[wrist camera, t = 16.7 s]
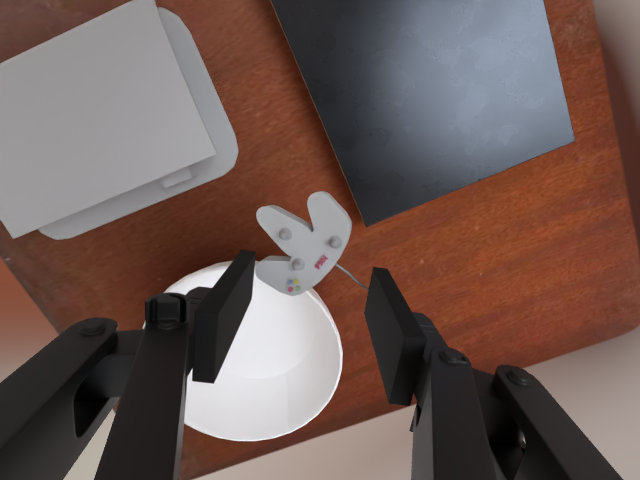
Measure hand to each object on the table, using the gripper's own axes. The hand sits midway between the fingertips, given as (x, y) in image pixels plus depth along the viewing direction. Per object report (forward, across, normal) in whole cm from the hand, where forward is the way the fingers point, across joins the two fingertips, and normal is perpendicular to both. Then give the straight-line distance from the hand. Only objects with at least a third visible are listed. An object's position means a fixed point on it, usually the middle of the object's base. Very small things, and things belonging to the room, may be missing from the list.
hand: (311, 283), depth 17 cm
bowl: (+17, -5, -12) cm, 21 cm away
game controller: (+2, +2, 0) cm, 3 cm away
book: (+17, -21, +6) cm, 27 cm away
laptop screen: (+14, +6, +16) cm, 22 cm away
